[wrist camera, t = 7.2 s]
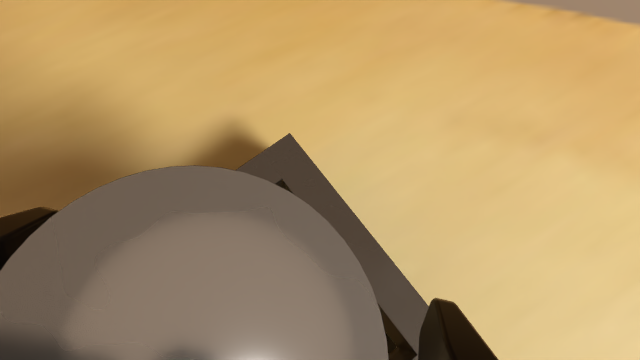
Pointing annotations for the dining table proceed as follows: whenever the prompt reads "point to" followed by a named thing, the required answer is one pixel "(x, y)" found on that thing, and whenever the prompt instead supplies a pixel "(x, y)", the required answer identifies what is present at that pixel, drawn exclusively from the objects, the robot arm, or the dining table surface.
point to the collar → (348, 240)
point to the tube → (188, 276)
